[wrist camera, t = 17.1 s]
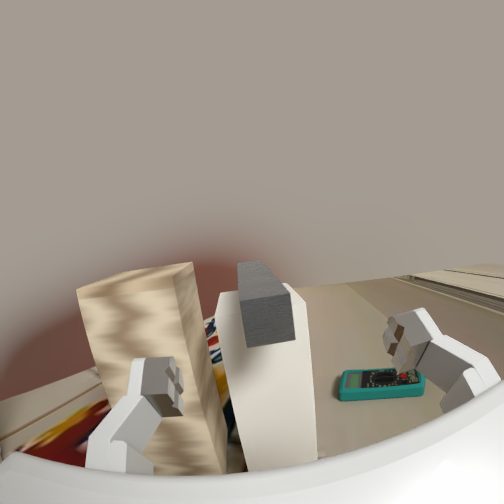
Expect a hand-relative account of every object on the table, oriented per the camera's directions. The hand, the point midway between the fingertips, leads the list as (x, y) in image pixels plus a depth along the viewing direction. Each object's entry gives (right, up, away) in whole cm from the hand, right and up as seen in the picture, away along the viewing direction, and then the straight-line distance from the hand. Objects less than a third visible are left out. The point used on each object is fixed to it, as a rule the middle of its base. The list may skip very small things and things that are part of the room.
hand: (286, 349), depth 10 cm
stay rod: (-1, -1, +17) cm, 17 cm away
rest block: (+2, -23, +22) cm, 32 cm away
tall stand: (-9, -24, +22) cm, 35 cm away
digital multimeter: (+21, -20, +32) cm, 43 cm away
